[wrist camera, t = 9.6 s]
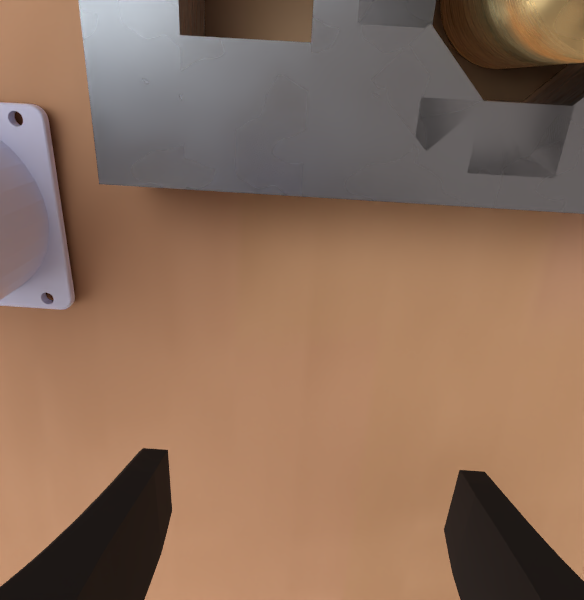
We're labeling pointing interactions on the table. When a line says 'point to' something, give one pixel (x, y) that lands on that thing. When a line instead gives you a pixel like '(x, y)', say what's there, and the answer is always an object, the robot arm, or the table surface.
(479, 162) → the grey flat block
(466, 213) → the table surface
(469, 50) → the brass fitting
